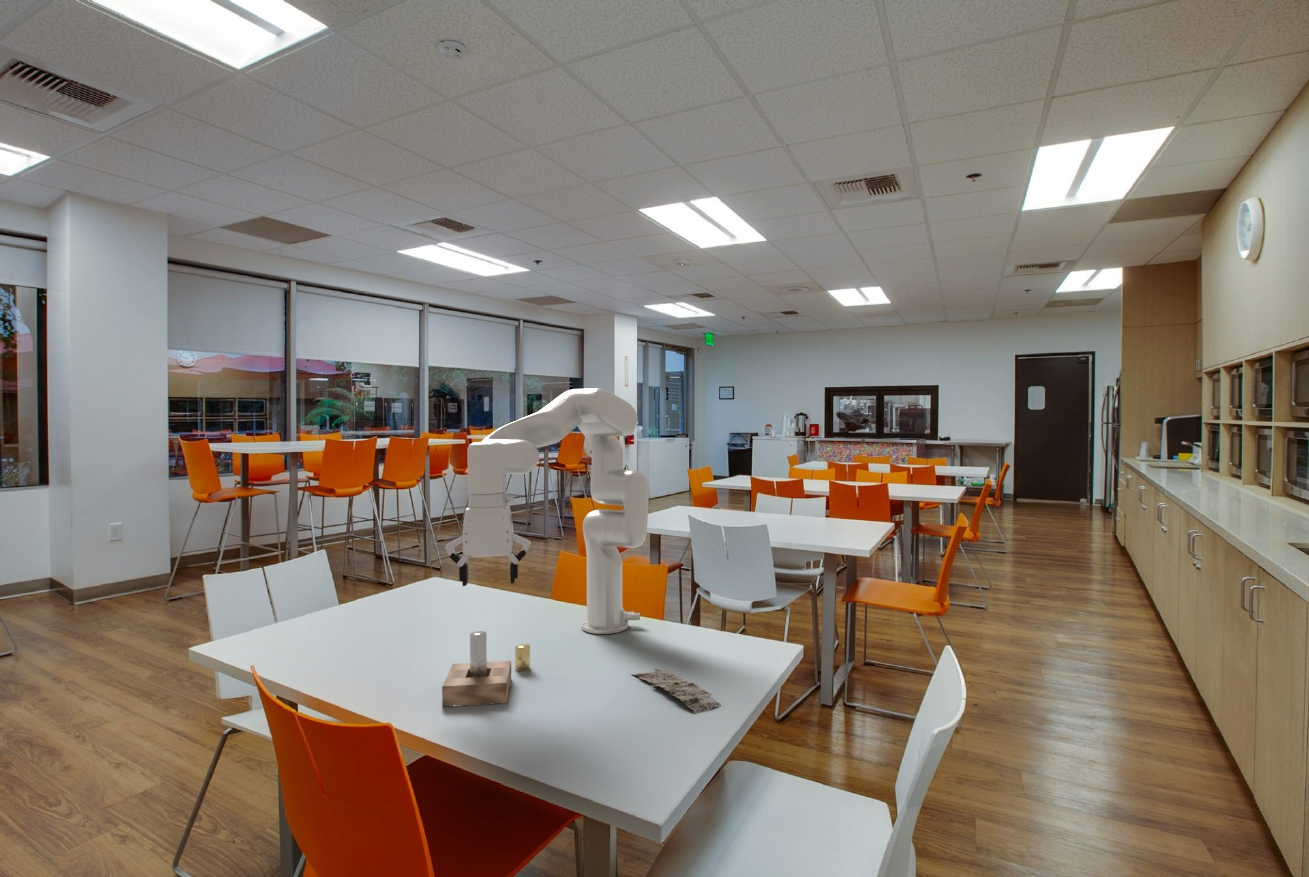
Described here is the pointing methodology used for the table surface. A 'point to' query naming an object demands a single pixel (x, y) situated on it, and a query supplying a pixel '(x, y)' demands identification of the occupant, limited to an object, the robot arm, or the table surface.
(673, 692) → the stone fragment
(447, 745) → the table surface
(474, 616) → the table surface
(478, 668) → the long pin
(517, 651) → the short pin
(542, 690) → the table surface
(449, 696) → the socket block
